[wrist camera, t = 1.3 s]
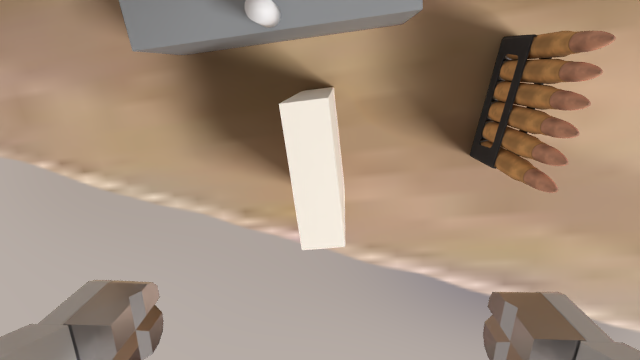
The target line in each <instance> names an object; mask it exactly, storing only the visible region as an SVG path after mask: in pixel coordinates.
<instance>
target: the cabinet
mask: <svg viewBox="0 0 640 360" xmlns="http://www.w3.org/2000/svg"><path fill="white" fill-rule="evenodd" d="M119 3H120V7H121V11H122V14H123V18H124V22H125V25H126V29H127V32H128V36H129V39H130V43H131V47H132V50H133V51H137V52H150V53H162V54H175V55H188V54H195V53H203V52H210V51H217V50H224V49H231V48H238V47H245V46H252V45H259V44H266V43H273V42H281V41H288V40H295V39H302V38H309V37H316V36H323V35H330V34H337V33H344V32H351V31H359V30H366V29H373V28H380V27H387V26H394V25H401V24H404V23H405V22H406V21H408V20H409V19H410V18H412V17H413V16H414V15H416V14H417V13H418V12H420V11H421V10H422V9H423V0H119Z"/></svg>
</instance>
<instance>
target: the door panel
mask: <svg viewBox="0 0 640 360" xmlns="http://www.w3.org/2000/svg"><path fill="white" fill-rule="evenodd" d="M279 108H280V114H281V120H282V127H283V133H284V139H285V146H286V152H287V158H288V165H289V171H290V177H291V184H292V190H293V196H294V203H295V209H296V215H297V222H298V228H299V234H300V241H301V247H302V250H310V249H323V248H336V247H345V187H344V177H343V168H342V159H341V150H340V140H339V131H338V122H337V113H336V103H335V94H334V87H329V88H321V89H313V90H305V91H301V92H299V93H297V94H295V95H294V96H292V97H290V98H288V99H287V100H285V101H283V102H281V103H279Z"/></svg>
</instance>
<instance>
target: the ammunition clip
mask: <svg viewBox="0 0 640 360" xmlns="http://www.w3.org/2000/svg"><path fill="white" fill-rule="evenodd" d="M615 39H616V37H615V36H614V35H613V34H611V33H607V32H603V31H584V32H583V31H581V32H572V31H560V32H554V33H548V34H541V35H520V36H507V37H504V38H503V39H502V42H501V45H500V49H499V52H498V56H497V60H496V63H495V67H494V70H493V74H492V77H491V81H490V85H489V88H488V92H487V95H486V99H485V102H484V106H483V110H482V113H481V117H480V120H479V124H478V127H477V131H476V135H475V138H474V142H473V145H472V149H471V152H470V156H471V157H473V158H475V159H477V160H479V161H480V162H482V163H484V164H486V165H488V166H490V167H492V168H497V169H499V170H500V171H502V172H503V173H505V174H506V175H508V176H510V177H511V178H513V179H514V180H517V181H521V182H523V183H525V184H527V185H529V186H531V187H533V188H535V189H538V190H541V191H544V192H549V193H555V192H557V191H558V187H557V185H556V184H555V182H554V181H553V180H552V179H551V178H550V177H549V176H547V175H546V174H545V173H543V172H541V171H540V170H538V169H537V168H535V167H534V166H533V165H532V164H531V163H530V162H529V161H527V160H525V159H523V158H521V157H519V156H522V157H525V158H531V159H534V160H536V161H539V162H542V163H545V164H548V165H553V166H565V165H567V164H568V160H567V158H566V157H565V156H564V155H563V154H562V153H561V152H560V151H559V150H557V149H555V148H554V147H551V146H549V145H547V144H546V143H543V142H541V141H540V140H539V139H538V138H536V137H534V136H531V135H529V134H527V132H529V133H532V134H543V135H548V136H552V137H556V138H573V137H576V136H578V135H579V131H578V129H577V128H576V127H574V126H573V125H572V124H570V123H568V122H566V121H564V120H561V119H558V118H555V117H552V116H549V115H548V114H547V113H545V112H542V111H538V110H535V108H537V109H559V110H579V109H584V108H586V107H588V106H590V105H591V102H590V101H589V100H588V99H587V98H586V97H584V96H582V95H580V94H577V93H574V92H571V91H565V90H561V89H557V88H555V87H552V86H548V85H543V83H545V84H555V83H559V82H578V81H586V80H590V79H593V78H596V77H598V76H600V75H601V74H602V73H603V71H602V69H601V68H599V67H598V66H596V65H593V64H590V63H585V62H573V61H564V60H561V59H552V57H565V56H567V55H570V54H575V53H580V52H588V51H593V50H597V49H600V48H602V47H605V46H607V45H609V44H611V43H612V42H613V41H614V40H615ZM535 58H539V60H527V59H535ZM520 82H530V83H534V84H527V83H520ZM513 104H517V105H522V106H527V108H525V107H521V106H516V105H513ZM507 125H508V126H511V127H514V128H517V129H520V130H519V131H518V130H515V129H513V128H510V127H507ZM500 146H501V147H500ZM502 147H503V148H502ZM504 148H505V149H504ZM506 149H507V150H506Z"/></svg>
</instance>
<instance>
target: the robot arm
mask: <svg viewBox="0 0 640 360" xmlns="http://www.w3.org/2000/svg"><path fill="white" fill-rule="evenodd" d="M159 298H160V296H159V291H158V286H157V285H156V284H154V283H153V282H135V281H111V280H93V281H88V282H87V283H86V284H85V285H83V286H82V287H81V288H80V289H79V290H77V291H76V292H75V293H74V294H73V295H71V296H70V297H69V298H68V299H67V300H66V301H64V302H63V303H62V304H61V305H60V306H58V307H57V308H56V309H55V310H54V311H52V312H51V313H50V314H49V315H48V316H47V317H45V318H44V319H43V320H42V321H41V322H39V323H38V324H29V325H27V326H25V327H22V328H20V329H18V330H16V331H13V332H11V333H8V334H6V335H4V336H1V337H0V360H144V359H145V358H147V357H148V356H150V355H151V354H153V352H154V351H155V349H156V348H157V346H158V344H159V342H160V339H161V335H162V332H163V315H162V312H161V311H160V310H159V309H158V308H157V307H156V306H155V304H156V302H157V301H158V299H159ZM488 308H489V310H490V311H491V313H492V314H493V315H492V316H491V317H490V318H489V319H488V320H487V321H485V324H484V331H483V339H484V347H485V350H486V353H487V356H488V358H489V360H640V351H639V350H637V349H635V348H633V347H631V346H629V345H627V344H625V343H618V342H614V341H613V340H612V339H611V338H610V337H609V336H608V335H607V334H606V333H605V332H604V331H603V330H602V329H601V328H599V327H598V326H597V325H596V324H595V323H594V322H593V321H592V320H591V319H590V318H589V317H588V316H587V315H586V314H585V313H584V312H583V311H581V310H580V309H579V308H578V307H577V306H576V305H575V304H574V303H573V302H572V301H571V300H570V299H569V298H568V297H567V296H566V295H564V294H562V293H559V292H536V293H531V292H492V294H491V296H490V297H489V302H488Z"/></svg>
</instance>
